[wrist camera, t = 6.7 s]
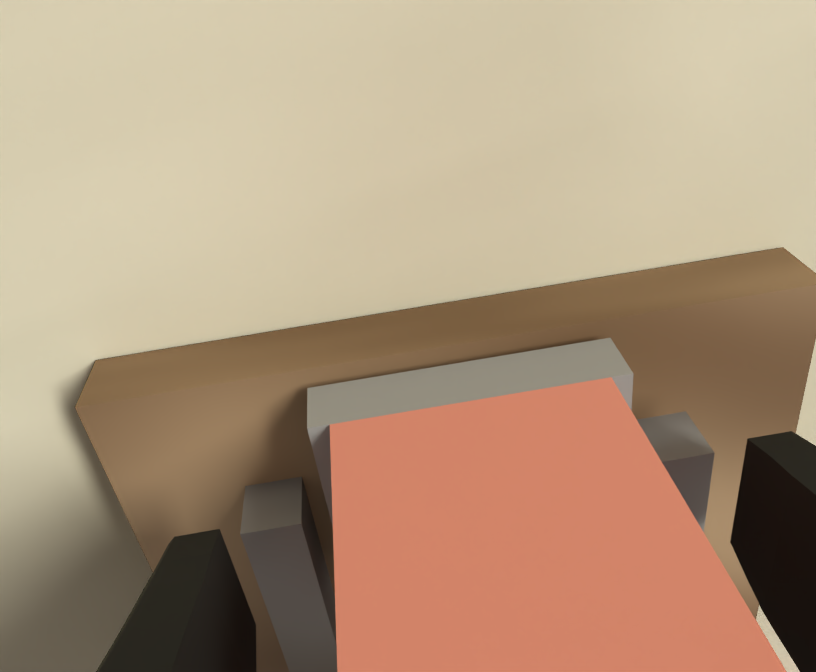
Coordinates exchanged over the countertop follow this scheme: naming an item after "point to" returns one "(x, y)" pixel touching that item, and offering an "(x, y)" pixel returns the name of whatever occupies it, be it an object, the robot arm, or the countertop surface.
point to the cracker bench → (424, 348)
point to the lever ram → (517, 525)
